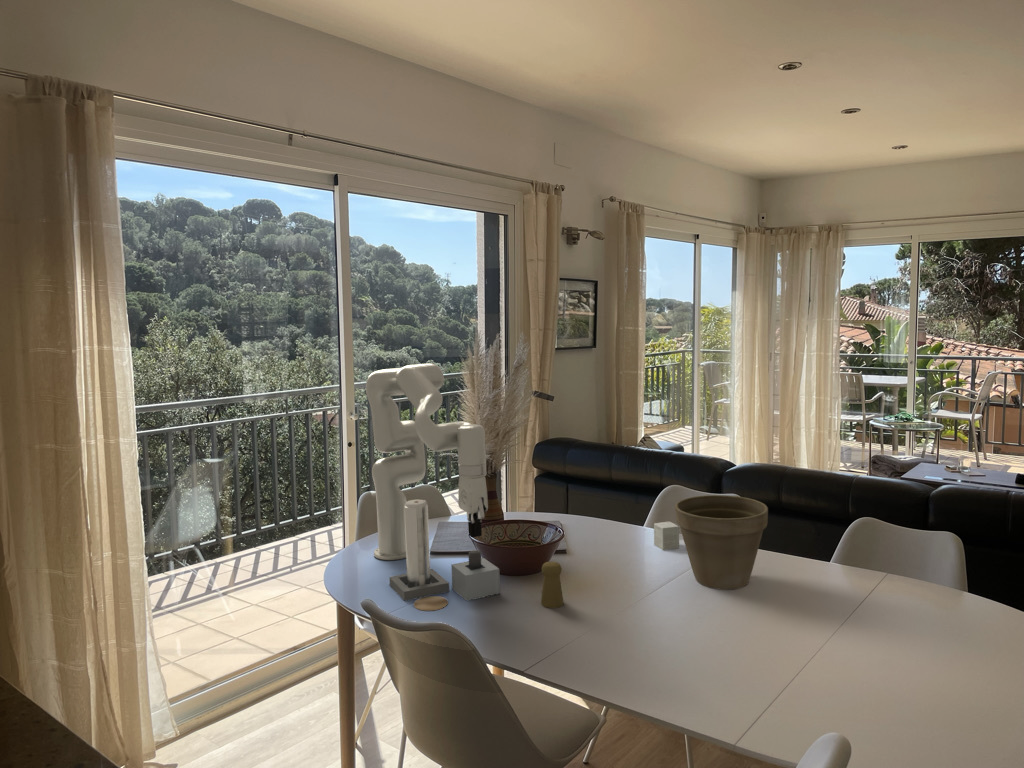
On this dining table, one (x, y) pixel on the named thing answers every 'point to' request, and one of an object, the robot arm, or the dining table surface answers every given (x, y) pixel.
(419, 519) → the air filter
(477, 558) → the plunger
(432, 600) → the pad
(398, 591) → the collar
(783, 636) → the dining table surface
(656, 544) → the grey cube
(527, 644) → the dining table surface
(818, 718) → the dining table surface
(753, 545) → the plant pot
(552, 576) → the pepper shaker
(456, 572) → the housing
